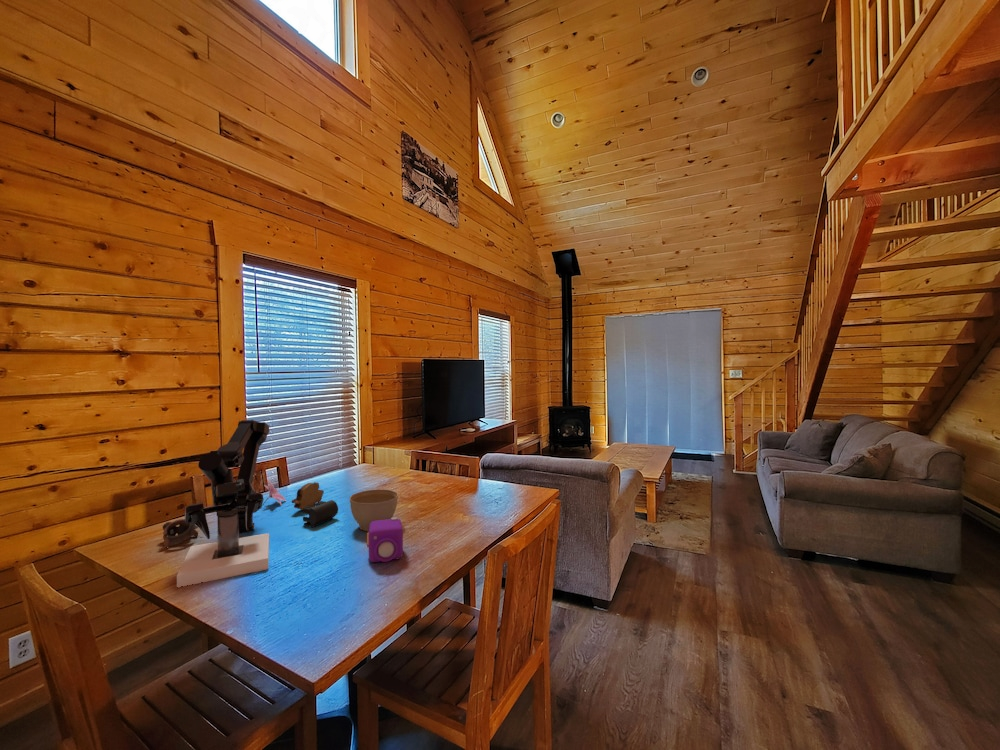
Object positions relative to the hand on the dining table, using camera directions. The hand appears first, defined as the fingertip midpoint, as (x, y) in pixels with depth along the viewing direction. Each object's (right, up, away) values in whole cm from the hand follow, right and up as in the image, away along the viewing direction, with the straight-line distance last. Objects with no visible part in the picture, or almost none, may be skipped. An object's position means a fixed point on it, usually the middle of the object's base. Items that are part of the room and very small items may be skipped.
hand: (228, 533), depth 115 cm
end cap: (+12, -9, +32) cm, 35 cm away
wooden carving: (0, -8, +47) cm, 48 cm away
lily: (-16, -8, +52) cm, 55 cm away
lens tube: (-1, -9, +1) cm, 9 cm away
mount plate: (-1, -9, +1) cm, 9 cm away
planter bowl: (+33, -8, +27) cm, 43 cm away
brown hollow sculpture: (-26, -9, +15) cm, 31 cm away
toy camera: (+43, -9, +4) cm, 44 cm away
